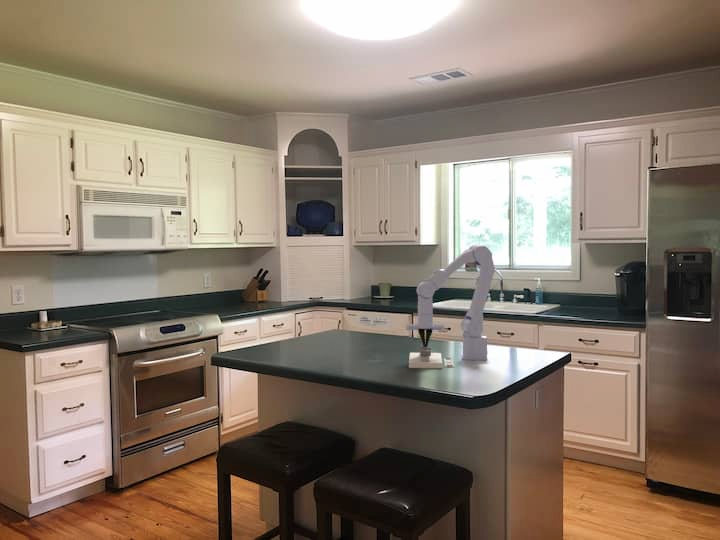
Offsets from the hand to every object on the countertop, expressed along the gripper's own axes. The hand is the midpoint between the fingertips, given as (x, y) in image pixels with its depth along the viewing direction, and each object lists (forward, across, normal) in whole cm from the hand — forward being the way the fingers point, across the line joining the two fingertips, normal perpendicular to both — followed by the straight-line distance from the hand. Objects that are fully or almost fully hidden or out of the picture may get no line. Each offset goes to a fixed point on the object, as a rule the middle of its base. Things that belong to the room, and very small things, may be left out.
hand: (425, 348), depth 225 cm
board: (+4, 0, +6) cm, 7 cm away
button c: (+3, 0, +12) cm, 12 cm away
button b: (+3, 0, +6) cm, 7 cm away
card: (+4, -9, +6) cm, 11 cm away
